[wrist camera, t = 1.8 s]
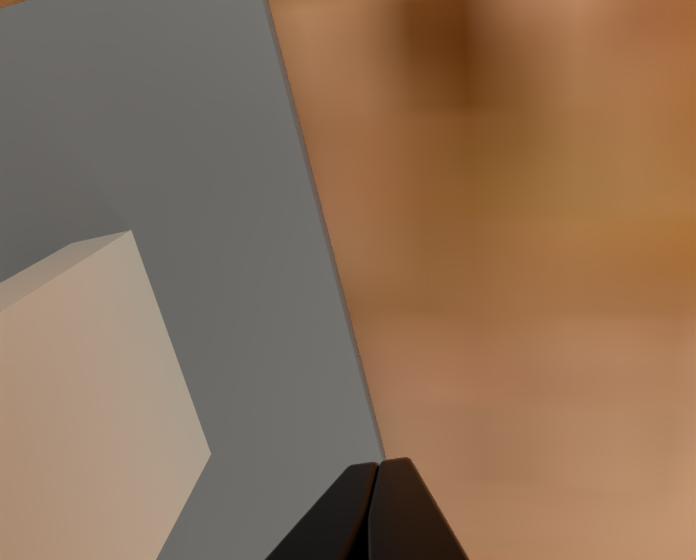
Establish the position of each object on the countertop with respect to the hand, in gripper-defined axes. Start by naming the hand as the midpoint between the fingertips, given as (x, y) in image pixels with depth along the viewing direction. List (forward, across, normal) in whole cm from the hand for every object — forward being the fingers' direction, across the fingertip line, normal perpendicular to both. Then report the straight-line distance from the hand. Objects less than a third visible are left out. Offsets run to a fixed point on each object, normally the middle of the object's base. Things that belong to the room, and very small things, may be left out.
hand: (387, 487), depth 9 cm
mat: (+7, +8, +1) cm, 10 cm away
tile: (+6, +6, 0) cm, 9 cm away
